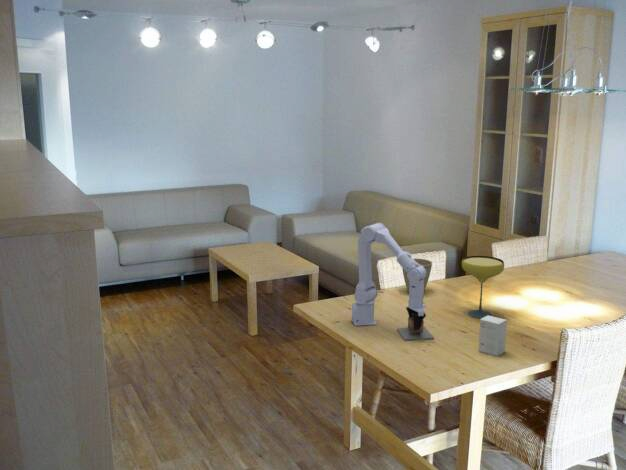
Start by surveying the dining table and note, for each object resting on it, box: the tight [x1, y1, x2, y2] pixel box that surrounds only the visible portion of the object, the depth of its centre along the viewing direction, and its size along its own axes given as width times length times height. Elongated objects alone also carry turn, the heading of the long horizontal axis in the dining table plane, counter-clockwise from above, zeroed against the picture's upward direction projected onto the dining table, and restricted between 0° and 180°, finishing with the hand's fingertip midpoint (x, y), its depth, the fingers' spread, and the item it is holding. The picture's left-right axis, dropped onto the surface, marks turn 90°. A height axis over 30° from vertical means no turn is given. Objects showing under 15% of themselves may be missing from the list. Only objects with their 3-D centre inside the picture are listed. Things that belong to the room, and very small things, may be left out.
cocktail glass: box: [461, 255, 505, 320], centre depth 277 cm, size 18×18×25 cm
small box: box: [478, 315, 507, 357], centre depth 238 cm, size 8×6×13 cm
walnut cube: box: [407, 316, 425, 333], centre depth 255 cm, size 5×5×5 cm
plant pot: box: [401, 258, 433, 294], centre depth 309 cm, size 15×15×16 cm
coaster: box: [396, 326, 435, 342], centre depth 256 cm, size 12×12×1 cm
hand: (415, 326), depth 256 cm, fingers closed on walnut cube, 5 cm apart
